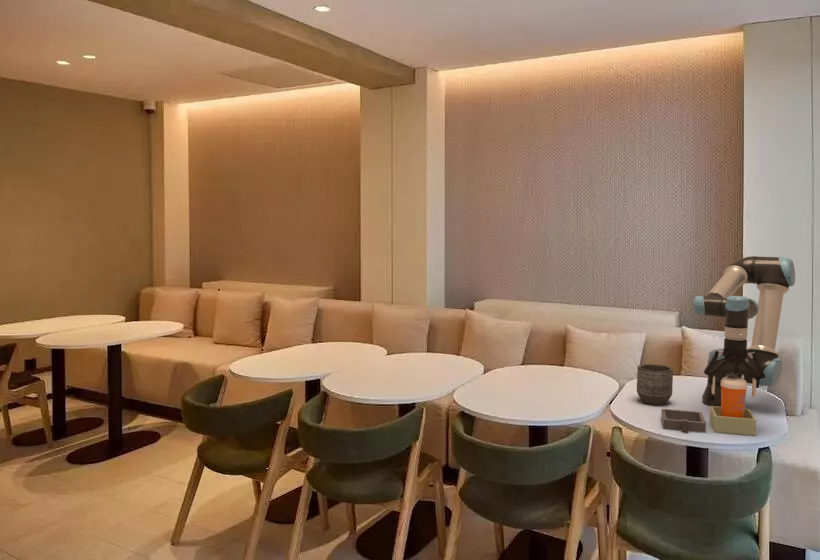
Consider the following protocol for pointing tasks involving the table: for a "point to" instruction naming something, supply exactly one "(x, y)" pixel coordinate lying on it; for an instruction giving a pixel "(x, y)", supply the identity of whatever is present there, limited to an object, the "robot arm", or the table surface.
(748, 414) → the sage holder
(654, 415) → the table surface
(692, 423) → the collar
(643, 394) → the planter
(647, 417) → the table surface
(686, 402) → the table surface
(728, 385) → the shaker bottle
